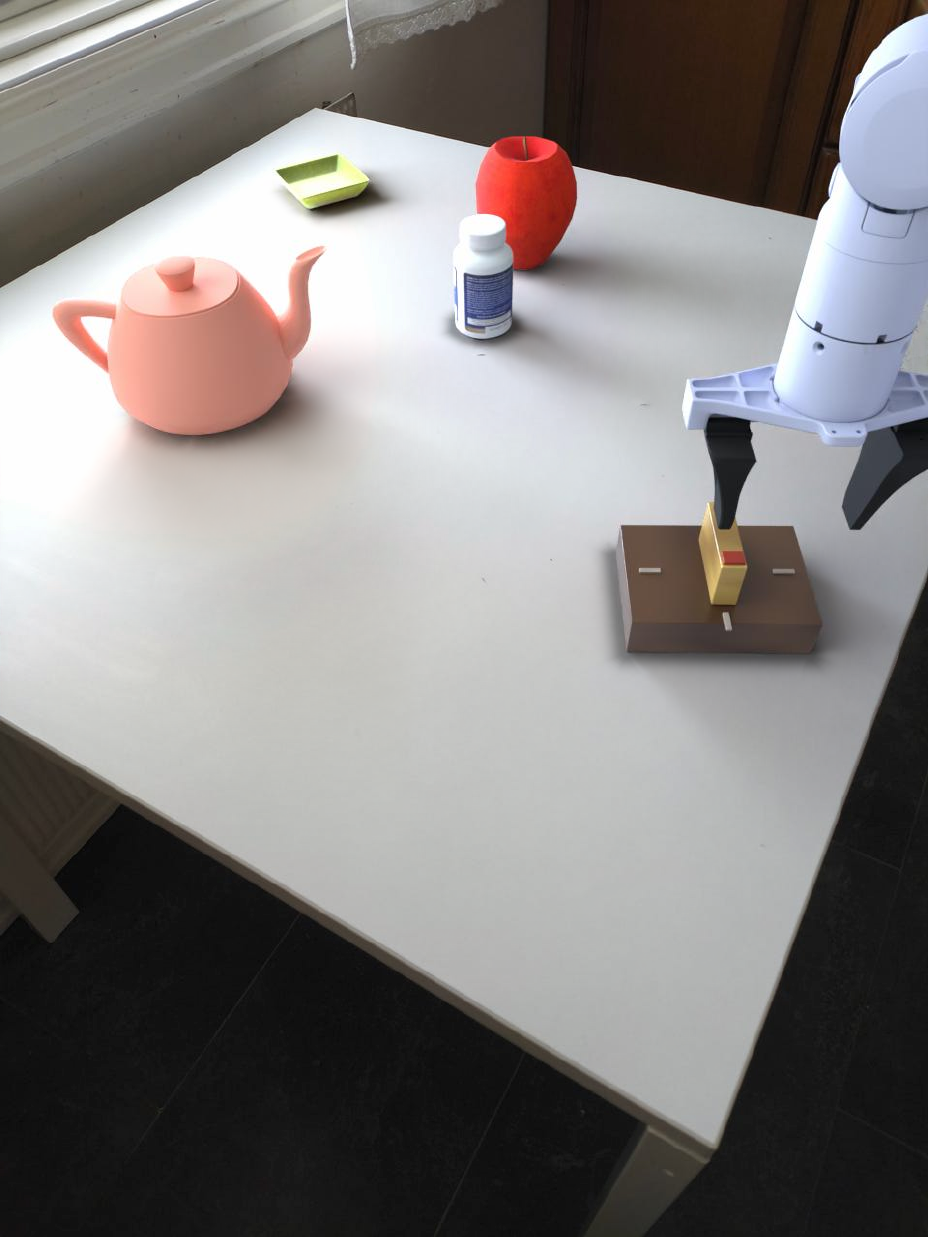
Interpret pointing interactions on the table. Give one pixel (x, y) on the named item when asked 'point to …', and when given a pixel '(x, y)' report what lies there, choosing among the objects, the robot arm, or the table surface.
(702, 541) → the handle
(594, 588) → the table surface
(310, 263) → the teapot
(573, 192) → the apple
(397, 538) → the table surface
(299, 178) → the green square tray
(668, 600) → the lock plate
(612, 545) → the table surface
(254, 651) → the table surface
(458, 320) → the pill bottle
